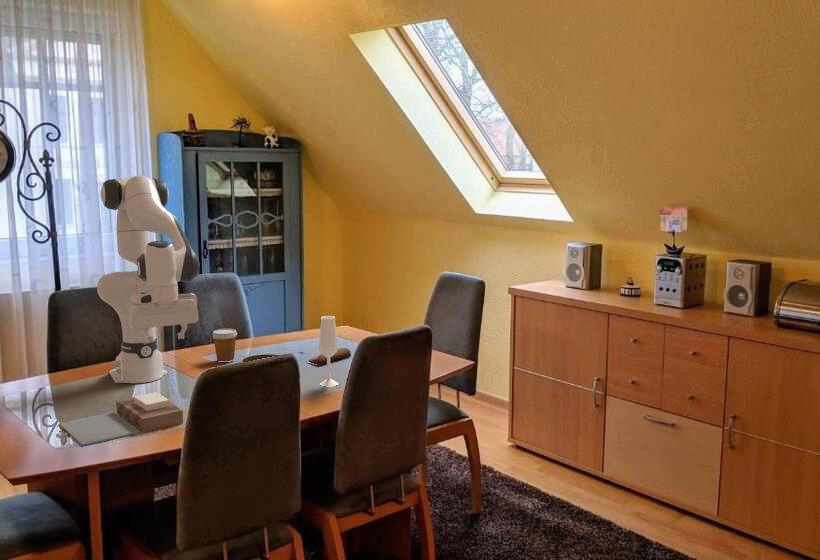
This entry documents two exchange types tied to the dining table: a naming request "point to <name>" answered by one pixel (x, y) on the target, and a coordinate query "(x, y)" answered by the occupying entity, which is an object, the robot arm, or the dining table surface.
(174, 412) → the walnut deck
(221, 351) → the disposable coffee cup
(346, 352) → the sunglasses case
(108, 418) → the grey mat
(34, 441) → the dining table surface
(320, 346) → the champagne flute
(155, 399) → the cream flat block
